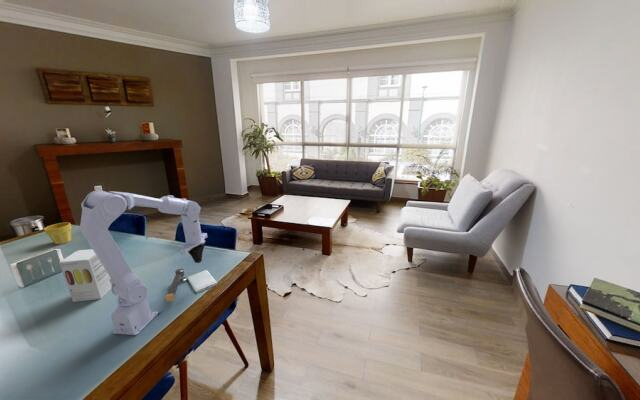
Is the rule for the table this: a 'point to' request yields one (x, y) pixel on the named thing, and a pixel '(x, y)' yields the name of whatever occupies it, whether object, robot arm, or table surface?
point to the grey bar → (174, 285)
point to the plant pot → (59, 232)
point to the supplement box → (85, 276)
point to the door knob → (183, 280)
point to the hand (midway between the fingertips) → (198, 261)
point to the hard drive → (201, 281)
